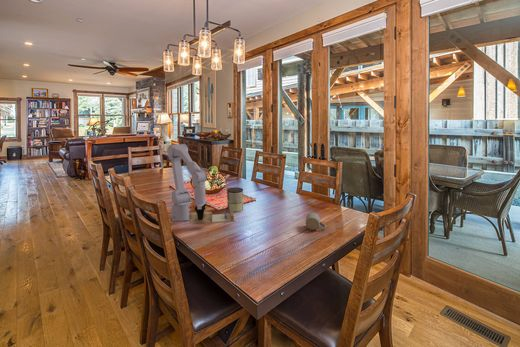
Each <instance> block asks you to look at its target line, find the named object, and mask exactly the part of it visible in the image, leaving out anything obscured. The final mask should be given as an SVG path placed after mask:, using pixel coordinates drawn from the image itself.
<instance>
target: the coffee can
mask: <svg viewBox="0 0 520 347" xmlns="http://www.w3.org/2000/svg"><path fill="white" fill-rule="evenodd" d="M226 193H227V194H226V199H227V200H226V201H227V212H229V213H230V210H233V214H237V213H242V212H243V211H244V189H243V188H242V187H238V186H237V187H229V188H227V189H226Z"/></svg>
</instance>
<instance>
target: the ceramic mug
mask: <svg viewBox="0 0 520 347" xmlns="http://www.w3.org/2000/svg"><path fill="white" fill-rule="evenodd" d="M305 226H306V228H307V229H308V230H311V231H316V230H317V229H319V230H323V231H324V230H326V224H325V223H323V222H322V221H321V217H320V215H319V214H318V213H316V212H310V213H307V215H306V218H305Z"/></svg>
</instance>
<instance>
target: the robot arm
mask: <svg viewBox="0 0 520 347" xmlns="http://www.w3.org/2000/svg"><path fill="white" fill-rule="evenodd" d="M166 150H167V156H168V160H170V162H171V168H172V174H173V180H174V187H175V189H174V190H172V192H171V202H172V204H171V221H172V222H183V221H187V222H188V221H189V205H190V202H191V201H192V196H191V193H190V190H189V189H188V188H186V187H185V182H184V176H183V170H182V164H181V161H183V162H184V164H186V169H187V171H188V172H189V174H190V176H191V181H192V186H193V187H194V188H193V189H194V203H193V204H194V205H195V207H194V210H195V211H194V212H196V213H197V216H198V220H203V214H204V211H206V210H205V209H206V206H207V204H208V203H209V201H207V200H206V199H207V198H206V197H207V196H206V182H207V181H208V174H207V172H206V171H205V170H203V169H201V168H200V166H199V165H198V164H197V162H196V161H193V160H192V158H191V156H190V154H189V148H188V145H187V144H186V143H181V144H180V143H179V144H169V145H168V147H167V149H166Z"/></svg>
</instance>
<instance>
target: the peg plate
mask: <svg viewBox="0 0 520 347" xmlns="http://www.w3.org/2000/svg"><path fill="white" fill-rule="evenodd" d="M204 212H207V211H206V210H204ZM235 214H236V213H233V210H230V212H229V213H226V212H225V213H223V214H221V213H220V214H212V222H202V223H201V224H206V223H207V224H210V223H229V222H233V223H234V222H236V221H237V220H236V215H235Z"/></svg>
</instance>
